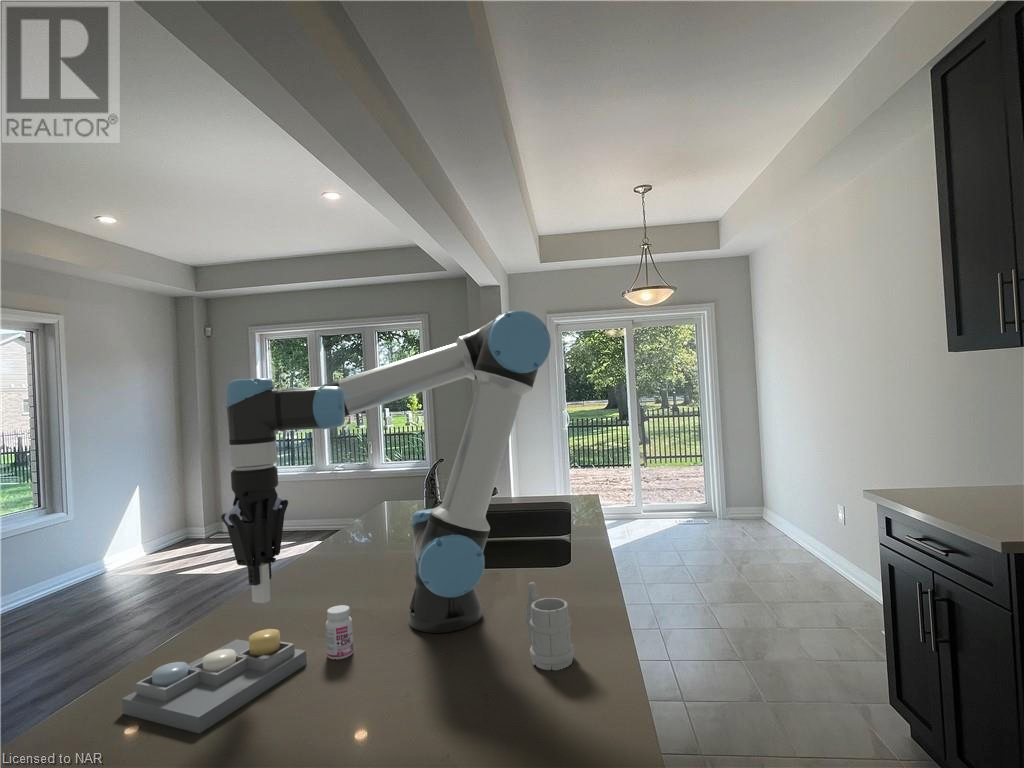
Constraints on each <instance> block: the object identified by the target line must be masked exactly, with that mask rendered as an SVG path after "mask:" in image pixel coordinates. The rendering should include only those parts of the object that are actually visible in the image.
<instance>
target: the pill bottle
mask: <svg viewBox="0 0 1024 768" xmlns="http://www.w3.org/2000/svg"><path fill="white" fill-rule="evenodd" d="M326 614H327V615H326V618H327V620H326V622H325V637H326V638H325V640H326V641H325V642H326V656H327V658H328V659H331V660H335V659H336V660H337V661H338V660H343V659H346V658H348V657H350V656H352V654H353V653H354V635H353V633H354V631H353V619H352V617H351V616H350V615H351V611H350V606H349V605H346V604H345V605H344V604H342V605H341V604H340V605H335V606H332V607H329V608H328V609H327V611H326ZM336 660H335V661H336Z"/></svg>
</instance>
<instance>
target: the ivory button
mask: <svg viewBox="0 0 1024 768" xmlns="http://www.w3.org/2000/svg"><path fill="white" fill-rule="evenodd" d="M213 651H214V652H213ZM213 651H211V652H209V653H206V654H205V655H206V656H205V655H204V658H203V669H204V670H205V671H210V672H215V673H218V672H220V671H222V670H224V669H225V668H227V667H229V666H231V665H233V664H234V663H236V652H235V650H233V649H222V650H218V651H215V650H213Z"/></svg>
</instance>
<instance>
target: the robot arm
mask: <svg viewBox="0 0 1024 768" xmlns="http://www.w3.org/2000/svg"><path fill="white" fill-rule="evenodd" d="M551 341H552V340H551V335H550V332H549V330H548V327H547V326H546V324H545V323H544V321H542V319H540V318H539V316H537V315H536V314H533V313H531V312H529V311H526V310H520V309H519V310H518V309H517V310H509V311H505V312H502V313H501V314H499V315H498V316H496V317H495V319H493V320H491V321H490V322H488V323H487V324H484V325H483V326H481V327H480V328H478V329H475V330H474V331H472V332H470V333H469V332H468V333H466V334H464V335H463V334H462V335H460V336H458V337H457V339H456V342H454V343H451V344H448V345H445V346H441V347H439V348H436V349H432V350H429V351H426V352H422V353H420V354H419V353H418V354H416V355H413V356H411V357H410V356H409V357H406V358H404V359H400V360H398V361H395V362H394V361H393V362H390V363H388V364H384V365H381V366H378V367H375V368H371V369H369V370H365V371H363V372H360V373H356V374H353V375H350V376H347V377H344V378H341V379H337V380H334V381H331V382H328V383H324V384H321V385H318V386H310V387H309V386H308V387H294V388H275V386H274V382H273V380H272V379H271V378H267V377H266V378H264V377H263V378H241V379H233V380H231V381H229V383H228V384H227V387H226V392H227V393H226V395H227V396H226V407H225V409H226V414H227V425H228V439H229V441H228V442H229V443H228V444H229V445H228V446H229V461H230V466H231V467H232V468H234V469H232V470H231V472H230V486H231V491H232V492H233V493H234V499H233V502H232V508H231V509H230V510H229V512H228V513H227V512H226V513H225V512H224V513H222V514H221V516H220V517H221V518H220V519H221V521H222V522H223V524H224V525H225V526H226V528H227V531H228V532H227V533H228V535H229V539H230V542H231V546H232V550H233V554H234V557H235V561H236V564H237V565H238V566H243V567H244V566H245V567H247V574H248V585H250V586H251V599H252V600H251V601H252V603H257V604H266V603H268V602H271V584H270V580H271V579H272V563H275V562H276V560H277V557H276V556H279V555H280V554H281V547H282V540H283V539H282V538H283V531H284V522H285V514H286V511H287V508H288V506H289V500H288V499H282V498H280V497H278V493H277V490H276V488H277V487H278V485H279V475H278V474H279V473H278V472H279V471H278V467H277V466H276V465H275V464H276V463H277V462H278V452H277V439H276V437H277V436H276V432H285V431H299V430H300V431H301V430H318V429H319V430H320V429H323V430H328V429H331V428H332V429H333V428H339V427H340V428H341V427H342V426H343V425H344V424H345V419H346V418H347V417H348V416H352V415H355V414H358V413H360V412H364V411H367V410H370V409H372V408H373V409H374V408H376V407H379V406H382V405H386V404H389V403H391V402H392V403H393V402H394V401H398V400H401V399H404V398H407V397H410V396H412V395H413V396H414V395H415V394H416V395H417V394H419V393H422V392H425V391H429V390H431V389H434V388H437V387H440V386H444V385H447V384H450V383H453V382H455V381H459V380H462V379H465V378H468V379H470V380H472V381H473V380H474V381H475V380H477V381H478V382H477V383H478V385H477V387H476V390H475V395H474V397H473V401H472V405H471V408H470V410H469V414H468V417H467V421H466V423H465V427H464V429H463V433H462V437H461V440H460V443H459V445H458V446H459V447H458V450H457V454H456V456H455V460H454V463H453V466H452V469H451V472H450V475H449V478H448V482H447V485H446V489H445V492H444V495H443V498H442V501H441V502H442V503H440V504H439V505H438V506H436V507H434V508H428V509H421V510H417V511H415V512H414V513H413V514H412V517H411V519H412V520H411V522H412V523H411V529H412V543H413V544H412V545H413V561H414V579H415V580H414V582H415V584H414V590H413V592H412V597H411V601H410V604H409V608H408V623H409V625H410V627H411V628H412V629H414V630H416V631H419V632H424V633H430V634H431V633H433V634H435V633H436V634H437V633H438V634H439V633H443V634H444V633H450V632H451V633H452V632H457V631H460V630H464V629H467V628H469V627H471V626H473V625H475V624H476V623H478V622H479V621H480V619H481V618H482V605H481V600H480V599H479V595H478V593H477V591H476V586H478V584H479V583H480V581H481V580H482V577H483V575H484V572H485V565H486V564H485V563H486V561H485V555H484V554H485V553H484V552H485V551H484V550H485V547H486V545H487V544H486V543H487V541H488V537H489V535H490V530H491V526H490V524H489V522H488V520H487V517H486V516H487V511H488V509H489V505H490V501H491V499H492V496H493V492H494V489H495V485H496V484H497V483H496V482H497V480H498V476H499V472H500V469H501V466H502V462H503V459H504V456H505V453H506V450H507V446H508V442H509V440H510V436H511V433H512V430H513V426H514V423H515V419H516V416H517V412H518V410H519V406H520V403H521V401H522V400H521V399H522V396H524V395H525V394H526V393H528V392H530V391H532V390H533V387H534V383H535V382H536V377H537V374H538V370H539V369H540V367H542V365H544V363H545V362H546V361H547V358H548V356H549V355H550V351H551Z"/></svg>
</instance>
